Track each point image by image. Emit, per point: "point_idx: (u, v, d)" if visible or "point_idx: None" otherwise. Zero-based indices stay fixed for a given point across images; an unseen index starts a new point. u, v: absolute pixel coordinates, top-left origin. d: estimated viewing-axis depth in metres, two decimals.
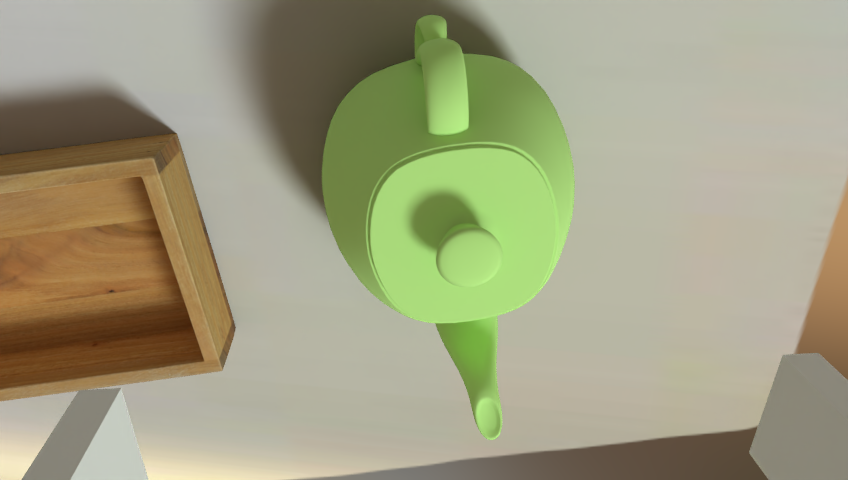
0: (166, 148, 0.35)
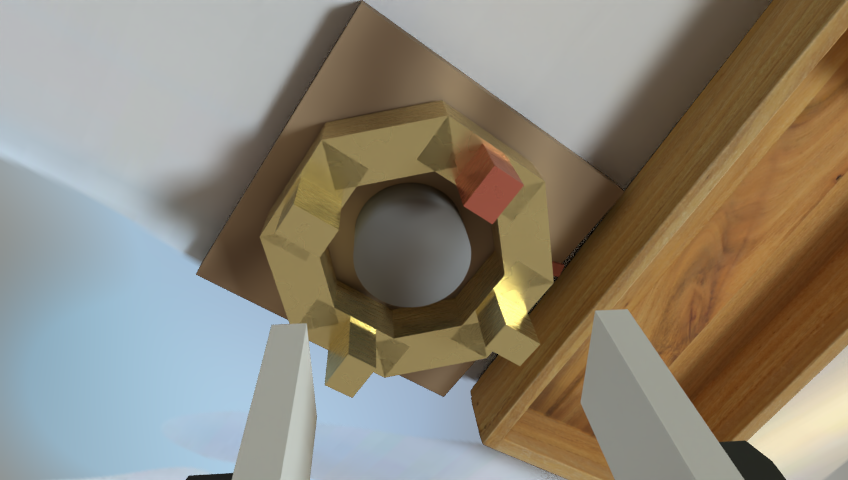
0: None
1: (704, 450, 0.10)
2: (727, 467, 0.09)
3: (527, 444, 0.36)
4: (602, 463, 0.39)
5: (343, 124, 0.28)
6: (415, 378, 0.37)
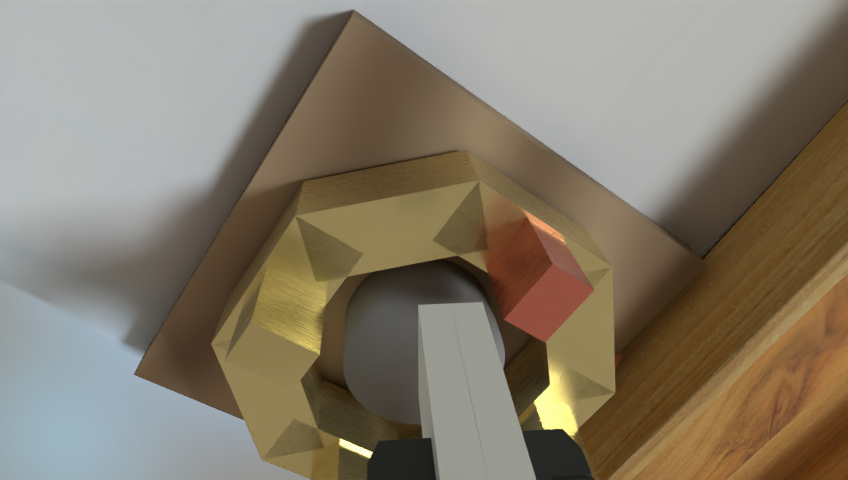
0: None
1: (503, 437, 0.10)
2: (520, 453, 0.10)
3: None
4: None
5: (328, 186, 0.20)
6: None
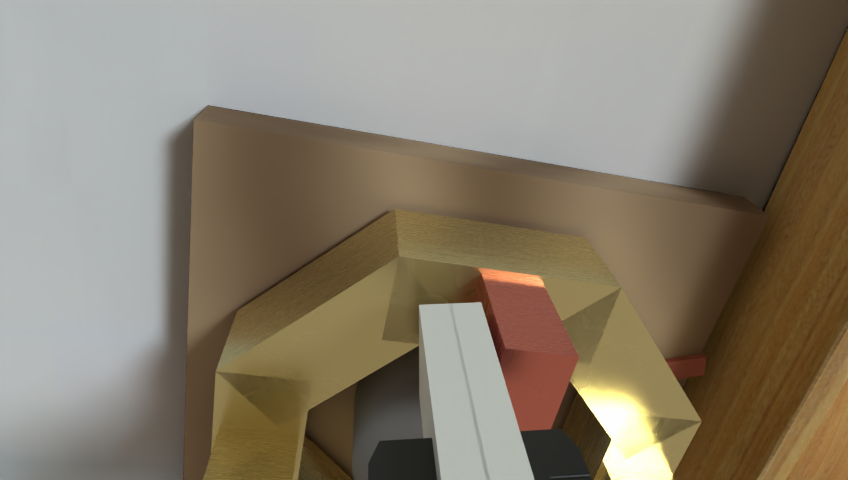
0: None
1: (501, 437, 0.10)
2: (518, 453, 0.10)
3: None
4: None
5: (255, 313, 0.17)
6: None
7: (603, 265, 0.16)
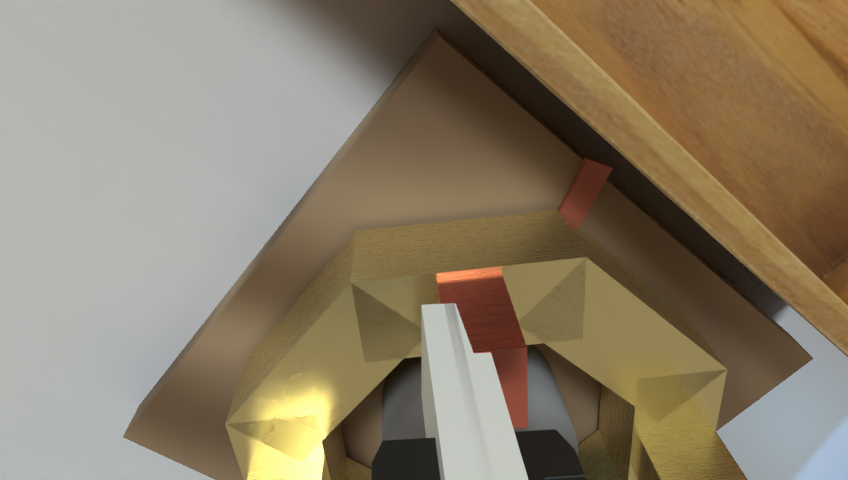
0: None
1: (496, 438, 0.10)
2: (513, 454, 0.10)
3: None
4: None
5: (256, 359, 0.18)
6: (751, 397, 0.21)
7: (570, 236, 0.16)
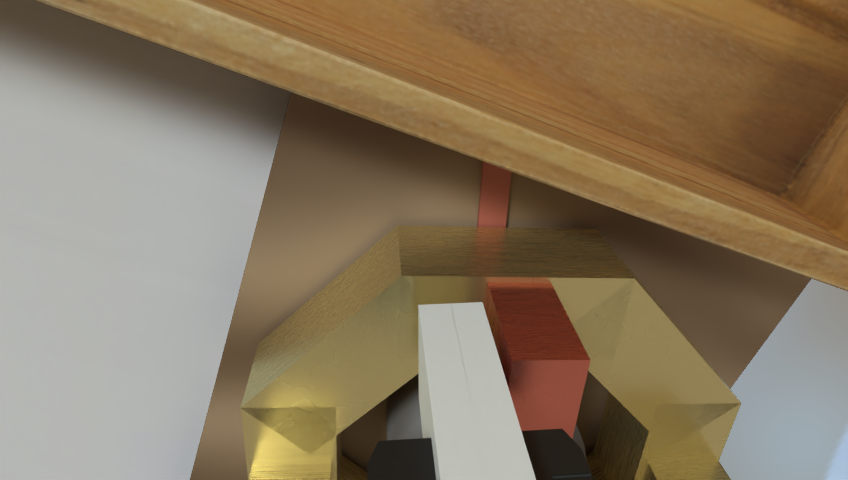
0: None
1: (503, 437, 0.10)
2: (520, 453, 0.10)
3: None
4: None
5: (274, 344, 0.17)
6: (768, 323, 0.20)
7: (614, 257, 0.16)
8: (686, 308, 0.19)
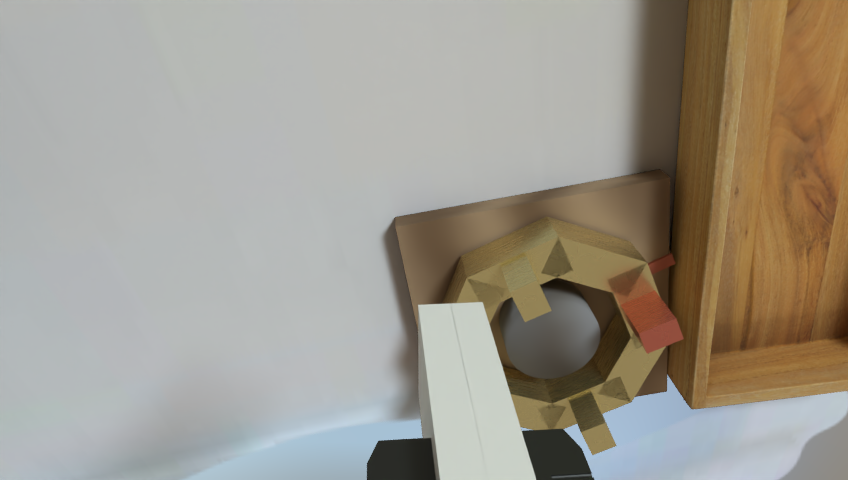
0: None
1: (503, 437, 0.10)
2: (520, 453, 0.10)
3: (731, 389, 0.40)
4: (818, 365, 0.41)
5: (564, 227, 0.36)
6: None
7: None
8: None
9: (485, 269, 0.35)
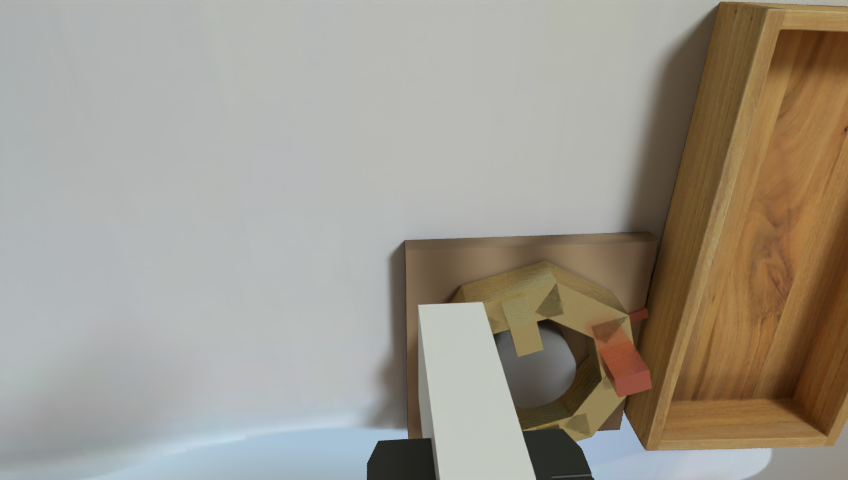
0: (747, 4, 0.33)
1: (503, 437, 0.10)
2: (520, 453, 0.10)
3: (682, 436, 0.44)
4: (756, 422, 0.46)
5: (560, 272, 0.39)
6: None
7: None
8: None
9: (486, 302, 0.37)
